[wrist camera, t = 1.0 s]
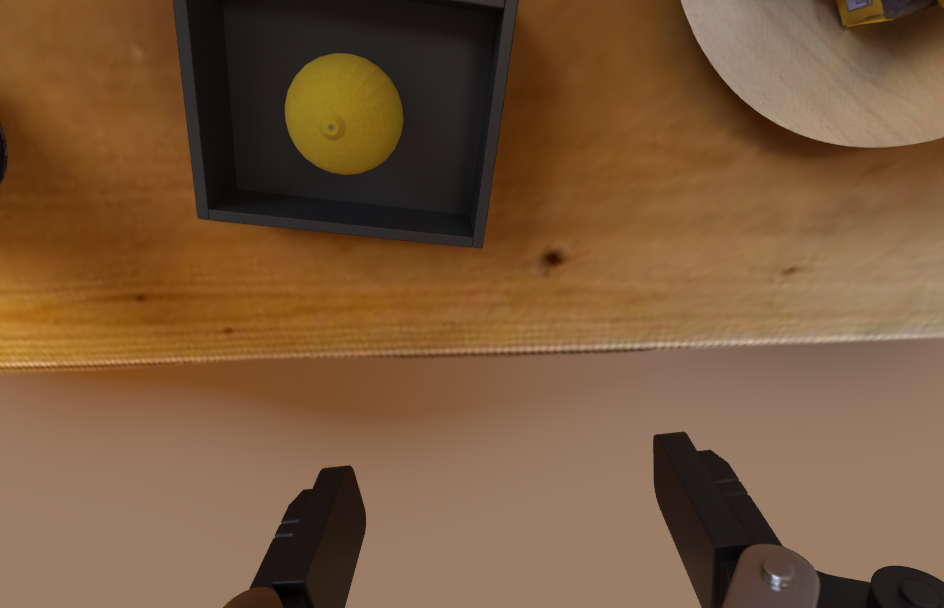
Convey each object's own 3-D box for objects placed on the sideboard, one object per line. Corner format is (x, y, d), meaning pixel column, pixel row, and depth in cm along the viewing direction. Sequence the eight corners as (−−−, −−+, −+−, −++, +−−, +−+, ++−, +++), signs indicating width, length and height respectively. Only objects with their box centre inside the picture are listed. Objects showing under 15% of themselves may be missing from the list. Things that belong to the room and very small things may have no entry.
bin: (229, 196, 31) (197, 219, 27) (209, -43, 26) (165, -60, 22) (478, 223, 32) (482, 249, 28) (508, 2, 27) (519, -5, 23)
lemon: (355, 176, 31) (328, 216, 23) (287, 96, 28) (234, 113, 21) (428, 117, 29) (422, 140, 22) (362, 28, 27) (332, 22, 20)
